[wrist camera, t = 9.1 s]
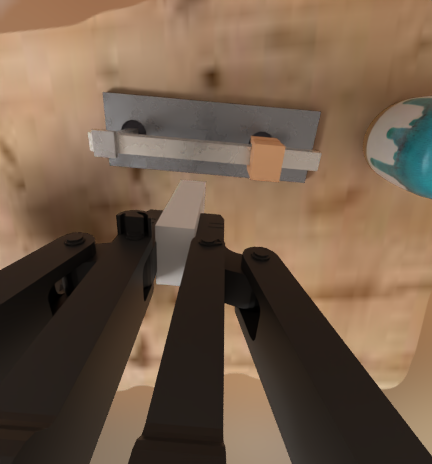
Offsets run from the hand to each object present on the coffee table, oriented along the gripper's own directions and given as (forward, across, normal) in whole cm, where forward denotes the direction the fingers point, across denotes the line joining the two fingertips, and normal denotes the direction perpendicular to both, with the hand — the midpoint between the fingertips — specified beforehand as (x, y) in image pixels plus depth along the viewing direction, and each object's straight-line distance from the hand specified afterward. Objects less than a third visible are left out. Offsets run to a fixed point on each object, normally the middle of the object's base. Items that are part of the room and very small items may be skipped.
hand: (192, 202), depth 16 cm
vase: (+27, +26, +3) cm, 37 cm away
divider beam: (+25, 0, 0) cm, 25 cm away
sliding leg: (+25, +6, 0) cm, 25 cm away
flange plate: (+27, 0, 0) cm, 27 cm away
